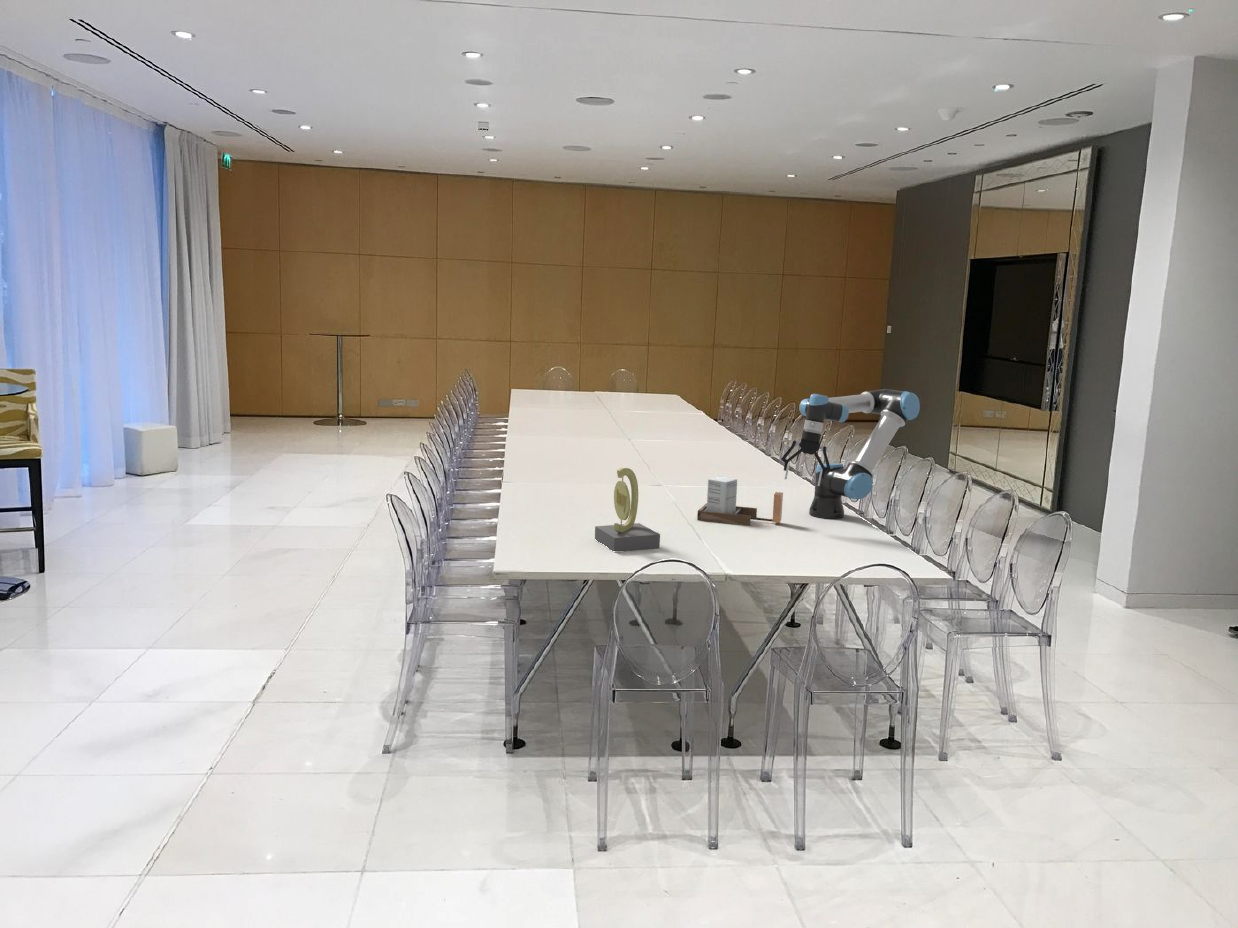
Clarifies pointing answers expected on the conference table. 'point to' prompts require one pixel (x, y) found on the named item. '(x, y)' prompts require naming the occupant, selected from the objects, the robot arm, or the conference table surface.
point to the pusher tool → (776, 509)
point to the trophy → (630, 532)
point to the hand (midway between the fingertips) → (801, 482)
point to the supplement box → (722, 495)
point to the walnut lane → (728, 516)
